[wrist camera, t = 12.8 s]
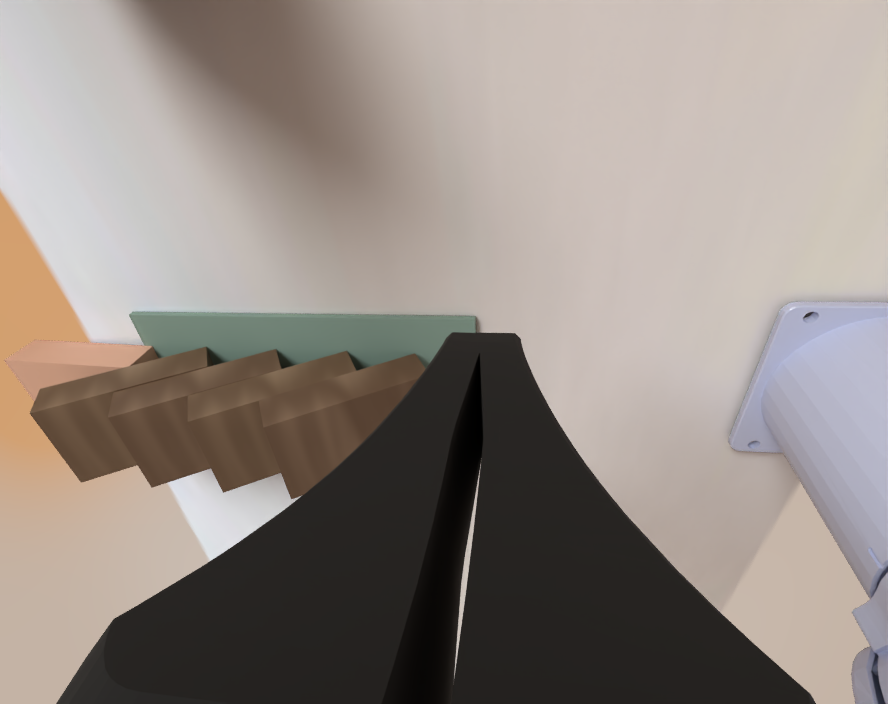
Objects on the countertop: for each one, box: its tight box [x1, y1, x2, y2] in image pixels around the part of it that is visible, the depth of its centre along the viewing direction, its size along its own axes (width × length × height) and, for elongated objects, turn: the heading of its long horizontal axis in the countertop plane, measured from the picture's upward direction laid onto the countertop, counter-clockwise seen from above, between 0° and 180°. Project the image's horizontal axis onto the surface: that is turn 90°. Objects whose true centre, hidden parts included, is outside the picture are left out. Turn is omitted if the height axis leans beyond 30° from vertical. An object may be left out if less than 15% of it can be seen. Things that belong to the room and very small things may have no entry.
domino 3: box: [188, 351, 356, 492], centre depth 22 cm, size 2×4×7 cm
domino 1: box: [30, 347, 214, 482], centre depth 23 cm, size 2×4×7 cm
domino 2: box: [108, 349, 282, 487], centre depth 23 cm, size 2×4×7 cm
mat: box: [129, 312, 476, 371], centre depth 24 cm, size 17×8×1 cm, turn 93°
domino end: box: [4, 340, 159, 402], centre depth 25 cm, size 2×4×7 cm
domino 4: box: [259, 353, 425, 499], centre depth 22 cm, size 2×4×7 cm
